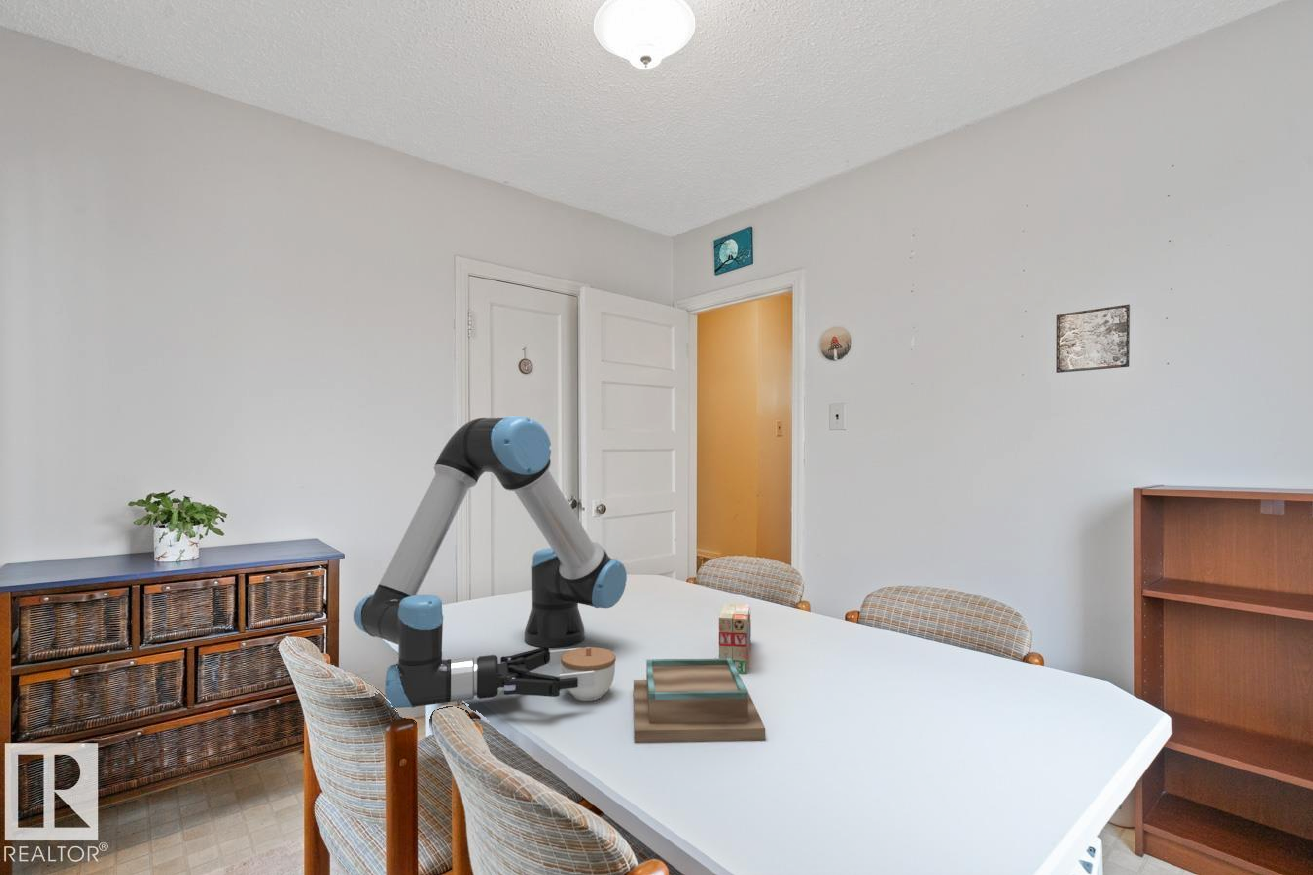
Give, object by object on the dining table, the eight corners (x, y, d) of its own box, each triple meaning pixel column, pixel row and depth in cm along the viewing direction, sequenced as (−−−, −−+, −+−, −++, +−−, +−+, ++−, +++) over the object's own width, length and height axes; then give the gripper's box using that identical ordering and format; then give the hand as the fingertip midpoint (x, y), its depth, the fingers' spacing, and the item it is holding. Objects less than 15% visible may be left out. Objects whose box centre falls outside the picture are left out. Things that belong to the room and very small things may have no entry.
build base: (633, 689, 124) (633, 655, 124) (741, 688, 125) (741, 653, 125) (634, 742, 102) (634, 700, 102) (765, 740, 103) (765, 698, 103)
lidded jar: (608, 681, 129) (608, 636, 129) (621, 702, 119) (621, 653, 119) (557, 688, 125) (557, 641, 125) (566, 709, 115) (566, 659, 115)
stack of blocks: (725, 642, 155) (725, 593, 155) (750, 643, 154) (750, 594, 154) (718, 673, 134) (718, 616, 134) (747, 675, 133) (747, 618, 133)
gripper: (474, 674, 127) (576, 663, 133) (476, 727, 103) (600, 711, 110) (474, 637, 127) (576, 628, 133) (476, 682, 103) (600, 668, 110)
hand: (587, 665), depth 122 cm, fingers open, 13 cm apart
